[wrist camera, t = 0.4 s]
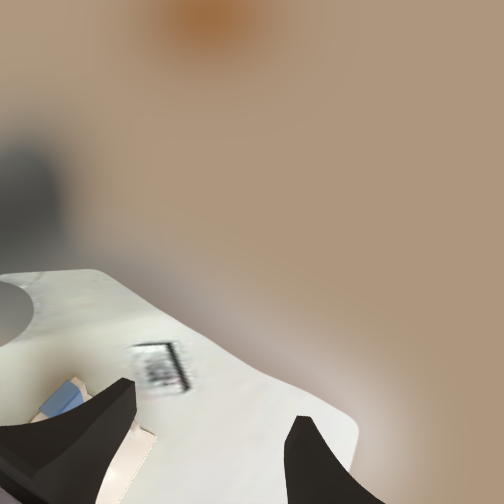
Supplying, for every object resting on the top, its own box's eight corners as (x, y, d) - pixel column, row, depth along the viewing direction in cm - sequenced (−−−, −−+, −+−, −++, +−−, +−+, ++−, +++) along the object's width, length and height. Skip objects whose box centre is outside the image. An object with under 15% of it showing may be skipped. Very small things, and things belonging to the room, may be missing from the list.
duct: (75, 575, 5) (61, 577, 3) (-16, 501, 6) (-38, 487, 4) (156, 438, 24) (158, 420, 23) (78, 392, 25) (72, 369, 24)
